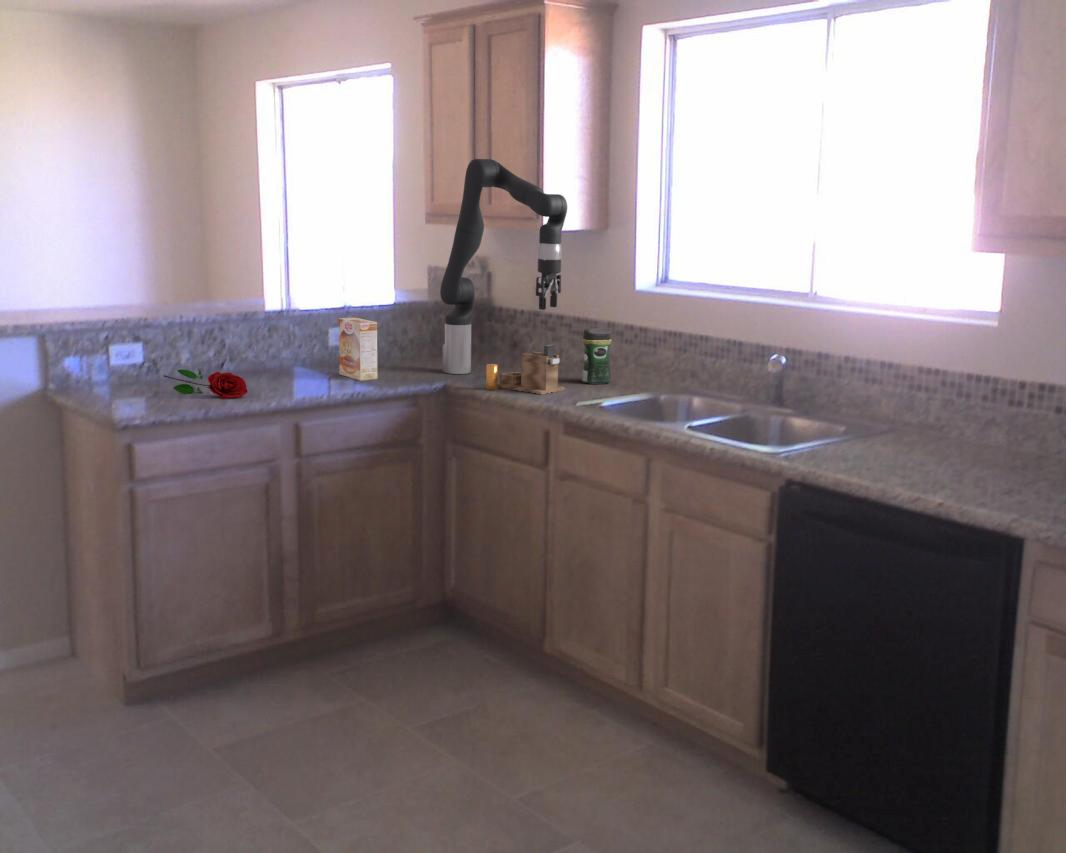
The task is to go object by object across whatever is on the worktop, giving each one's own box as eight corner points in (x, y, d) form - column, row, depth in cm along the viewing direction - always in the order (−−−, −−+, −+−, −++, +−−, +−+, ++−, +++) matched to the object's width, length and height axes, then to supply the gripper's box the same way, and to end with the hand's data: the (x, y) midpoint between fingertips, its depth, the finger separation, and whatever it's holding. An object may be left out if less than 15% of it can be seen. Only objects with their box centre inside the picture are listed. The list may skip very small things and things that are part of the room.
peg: (483, 389, 368) (484, 364, 366) (491, 387, 370) (491, 363, 369) (492, 390, 365) (492, 366, 364) (499, 389, 368) (500, 364, 366)
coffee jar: (605, 380, 390) (607, 326, 386) (613, 384, 383) (615, 329, 379) (578, 380, 388) (580, 326, 384) (585, 384, 380) (587, 329, 376)
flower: (157, 356, 347) (243, 370, 339) (173, 366, 356) (257, 380, 348) (148, 383, 345) (234, 398, 337) (164, 393, 353) (249, 408, 346)
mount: (491, 386, 373) (491, 350, 371) (515, 382, 382) (515, 347, 380) (540, 394, 360) (541, 357, 357) (564, 390, 369) (565, 354, 366)
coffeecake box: (338, 374, 389) (338, 317, 385) (357, 372, 393) (356, 316, 389) (359, 380, 377) (359, 322, 373) (378, 379, 382) (378, 321, 378)
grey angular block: (524, 359, 368) (524, 342, 367) (531, 358, 370) (531, 341, 369) (552, 364, 360) (553, 346, 359) (559, 363, 363) (559, 345, 362)
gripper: (548, 256, 370) (546, 305, 374) (529, 258, 357) (527, 309, 361) (569, 257, 367) (567, 307, 370) (551, 259, 354) (549, 311, 358)
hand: (547, 308), depth 366 cm, fingers open, 8 cm apart
